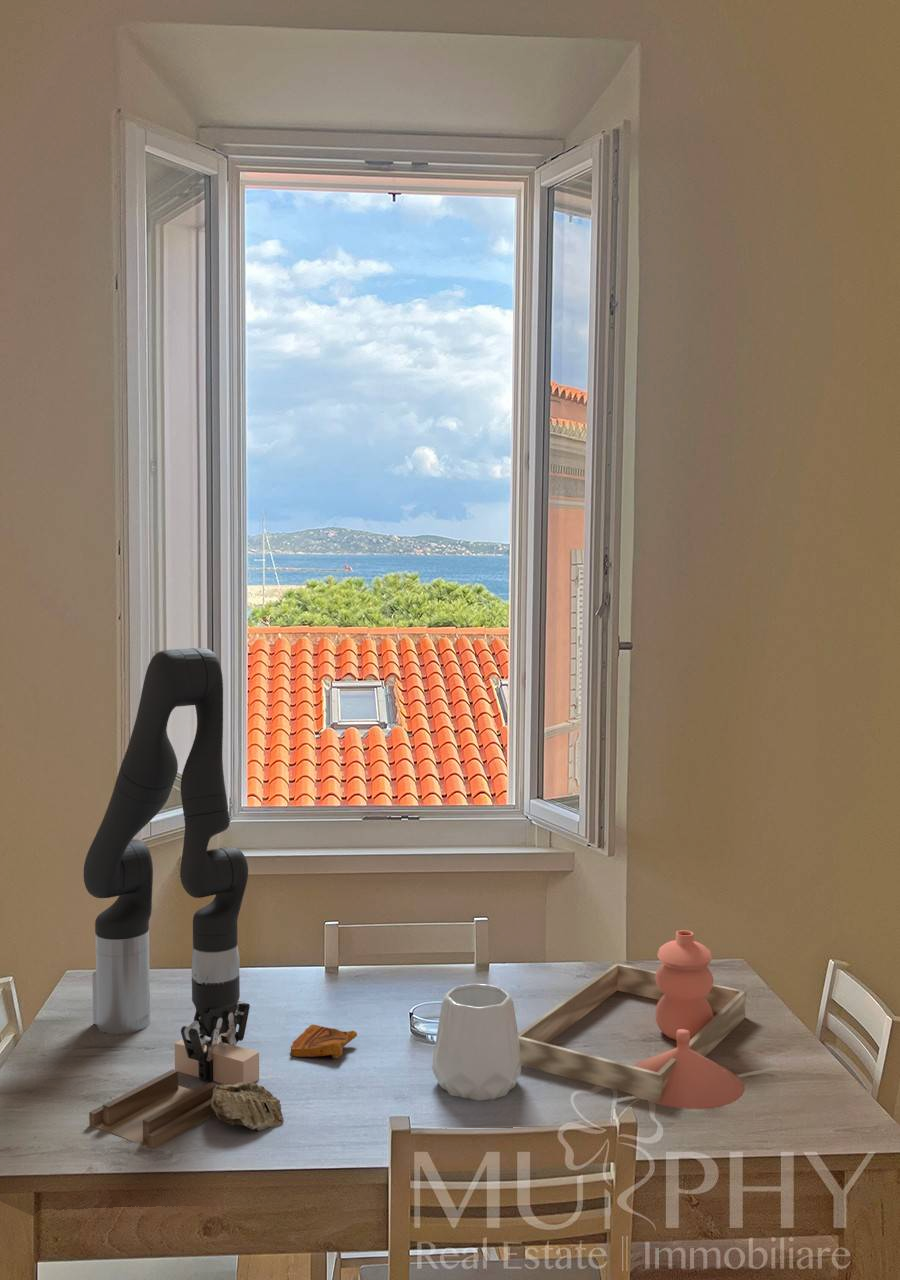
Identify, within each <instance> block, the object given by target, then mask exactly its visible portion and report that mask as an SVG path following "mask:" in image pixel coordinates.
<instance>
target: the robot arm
mask: <svg viewBox="0 0 900 1280" xmlns="http://www.w3.org/2000/svg"><path fill="white" fill-rule="evenodd" d="M222 672H223V671H222V668H221V663H220V661H219V658H218V657H217V655H216V653H215V652H214V651H212V650H211V649H209V648H205V647H196V648H195V647H193V648H192V647H191V648H179V649H178V648H177V649H165V650H161V651H158V652H157V653H155V654H154V655H153V656H152V658H151V659H150V661H149V663H148V666H147V668H146V672H145V676H144V680H143V685H142V689H141V695H140V699H139V705H138V708H137V713H136V718H135V721H134V725H133V729H132V732H131V734H130V739H129V742H128V746H127V747H126V751H125V754H124V756H123V759H122V762H121V763H120V764H121V765H120V767H119V771H118V774H117V776H116V780H115V784H114V787H113V791H112V794H111V797H110V799H109V802H108V806H107V807H106V811H105V813H104V816H103V818H102V821H101V823H100V826H99V828H98V830H97V831H96V834H95V836H94V838H93V840H92V841H91V844H90V846H89V849H88V851H87V854H86V857H85V861H84V864H83V865H84V866H83V883H84V886H85V889H86V891H87V892H88V893H89V894H90V895H91V896H92V897H94V898H96V899H110V898H115V897H117V898H116V900H115V901H114V902H113V903H112V904H111V905H110V906H109V907H108V908H106V909H105V910H103V911H102V912H101V913H99V914H98V915H97V916H96V919H95V922H94V930H95V931H94V933H95V939H94V940H95V971H94V972H93V973H92V977H91V978H92V981H91V982H92V1020H93V1021H92V1022H93V1023H92V1024H93V1025H94V1024H95V1026H96V1027H97V1030H98V1029H99V1030H100V1031H99V1030H98V1031H99V1032H101V1031H102V1033H104V1032H106V1033H105V1034H109V1033H114V1034H113V1035H125V1034H124V1033H126V1034H131V1032H132V1033H135V1032H136V1033H137V1032H139V1031H142V1030H144V1029H146V1028H148V1026H149V1025H151V1024H150V1023H151V984H150V983H151V981H150V980H151V979H150V978H151V975H150V971H151V970H150V919H151V916H152V910H153V907H152V906H153V902H152V901H153V885H154V883H153V882H154V879H153V878H154V867H153V858H152V854H151V851H150V849H149V847H148V846H147V844H146V843H145V842H144V841H142V840H141V839H137V838H136V839H134V838H135V836H136V835H138V833H139V832H140V831H141V830H143V829H144V828H145V827H146V826H147V825H148V824H149V823H150V822H151V821H152V820H153V819H154V818H155V817H156V816H157V815H158V814H159V813H160V811H161V810H163V808H164V806H165V805H166V804H167V802H168V800H169V797H170V794H171V793H172V790H173V786H174V784H175V781H176V778H177V774H178V770H179V767H178V766H179V765H178V764H179V763H178V759H177V756H176V752H175V749H174V748H173V745H172V743H171V741H170V739H169V735H168V733H167V732H168V731H167V729H168V723H169V719H170V716H171V714H172V712H173V710H174V709H175V708H177V707H186V706H187V707H188V706H189V707H190V706H195V714H196V730H195V735H194V740H193V743H192V745H191V749H190V751H189V754H188V756H187V757H186V758H187V759H186V761H185V764H184V767H183V770H182V773H181V780H180V797H181V802H182V803H181V806H182V813H183V820H184V837H183V847H182V855H181V860H180V870H179V876H180V883H181V885H182V887H183V889H184V890H185V892H186V893H187V894H188V895H189V896H190V897H192V898H195V899H201V898H205V897H210V896H214V895H215V897H214V899H213V900H212V901H211V902H210V903H208V904H207V905H205V906H203V907H201V908H199V909H197V910H196V911H195V913H194V914H193V918H192V955H191V1001H192V1003H193V1005H194V1007H195V1014H194V1016H193V1021H192V1023H191V1024H189V1025H188V1026H187V1025H186V1026H185V1025H183V1026H182V1027H181V1028H180V1035H181V1037H182V1038H181V1039H183V1041H184V1045H185V1048H186V1052H187V1055H188V1058H190V1059H194V1060H197V1061H199V1077H198V1078H199V1079H200V1081H203V1082H207V1083H208V1084H209V1083H211V1082H212V1083H213V1082H214V1081H213V1060H212V1056H213V1050H214V1047H215V1046H216V1045H217V1042H218V1039H219V1042H223V1043H226V1044H230V1045H234V1046H237V1043H238V1042H239V1041H240V1042H242V1041H243V1040H244V1038H245V1034H246V1028H247V1022H248V1018H249V1013H250V1007H251V1005H250V1003H247V1002H244V1001H240V996H241V995H240V993H241V992H240V991H241V990H240V988H241V987H240V979H241V978H240V952H239V946H238V945H239V944H238V942H239V941H238V921H239V914H240V911H241V907H242V902H243V898H244V894H245V892H246V891H245V890H246V888H247V884H248V879H249V865H248V862H247V859H246V858H247V857H246V856H245V854H244V853H243V852H242V850H240V849H239V848H237V847H235V846H227V847H225V846H224V847H220V848H215V849H210V850H208V846H209V844H210V843H209V842H210V840H211V838H213V837H214V836H216V835H217V834H221V833H223V832H224V831H227V829H228V828H229V827H230V823H231V822H230V813H229V805H228V798H227V797H228V796H227V792H226V791H227V789H226V785H225V776H224V775H225V774H224V762H223V759H224V756H223V754H224V753H223V748H224V746H223V744H224V743H223V741H224V739H223V737H224V680H223V673H222ZM237 1025H238V1026H237ZM237 1027H238V1029H237ZM143 1028H144V1029H143ZM141 1029H142V1030H141ZM206 1037H208V1039H207V1038H206ZM205 1045H206V1046H207V1049H206V1052H204V1047H205Z"/></svg>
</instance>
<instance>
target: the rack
mask: <svg viewBox="0 0 900 1280" xmlns="http://www.w3.org/2000/svg"><path fill="white" fill-rule="evenodd" d="M216 1085H218V1084H217V1083H216V1082H215V1083H214V1082H213V1081H212V1082H210V1083H209V1082H208V1083H207V1084H206V1085H203V1086H202V1087H200V1088H199V1089H198V1088H197V1090H192V1089H190V1088H188V1087H185V1086H181V1085H179V1072H178V1071H177V1070H175V1068H174V1069H173V1068H172V1069H170V1070H168V1071H167V1072H164V1073H162V1074H161V1075H159V1076H156V1077H154V1078H153V1079H151V1080H149V1081H146V1082H145V1083H143V1084H141V1085H138V1086H137V1087H135V1088H133V1089H132V1090H129V1091H127V1092H125V1093H124V1094H123V1093H122V1094H121V1095H120V1096H118V1097H115V1098H113V1099H112V1100H110V1101H108V1102H106V1103H104V1104H103V1105H100V1106H99V1107H97V1108H95V1109H93V1110H91V1111H89V1113H88V1114H89V1115H88V1116H89V1117H88V1118H89V1120H88V1121H89V1126H90V1127H93V1128H95V1129H98V1130H101V1131H103V1132H107V1133H109V1134H112V1135H115V1136H117V1137H120V1138H122V1139H125V1140H129V1141H131V1142H133V1143H137V1144H139V1145H142V1146H147V1147H148V1148H150V1149H155V1148H157V1147H158V1146H160V1145H162V1144H164V1143H166V1142H168V1141H170V1140H171V1139H173V1138H174V1137H177V1136H178V1135H180V1134H182V1133H184V1132H187V1130H189V1129H191V1128H193V1127H195V1126H197V1125H198V1124H200V1123H203V1122H204V1121H206V1120H209V1118H211V1117H213V1116H215V1115H216V1112H215V1111H214V1110H213V1108H212V1107H211V1103H212V1097H213V1089H214V1088H215V1086H216Z"/></svg>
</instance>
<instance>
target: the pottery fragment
mask: <svg viewBox="0 0 900 1280" xmlns="http://www.w3.org/2000/svg"><path fill="white" fill-rule="evenodd" d="M357 1036H358V1032H357V1031H356V1030H349V1031H342V1030H339V1029H337V1028H331V1027H327V1026H321V1025H317V1024H310V1025H309V1026H308V1027H307V1028H305V1030H304V1031H303V1032H302V1033H301V1034H300V1035H299V1036H298V1037H297V1038H296V1039H294V1041H293V1042H292V1045H291V1046H290V1053H291V1054H290V1055H291V1056H292V1057H300V1058H301V1057H303V1058H305V1057H307V1058H308V1057H309V1058H310V1057H323V1056H324V1057H325V1056H331V1057H332V1058H333V1059H338V1058H340V1057H341V1056H343V1051H344V1049H343V1048H345V1046H346V1045H348V1044H349V1043H350V1042H351V1041H352V1040H354V1039H355V1038H356V1037H357Z"/></svg>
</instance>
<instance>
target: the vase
mask: <svg viewBox="0 0 900 1280" xmlns="http://www.w3.org/2000/svg"><path fill="white" fill-rule="evenodd" d="M514 1005H515V1004H514V1001H513V998H512V996H511V995H510V994H509V993H508V992H507V991H506V990H505V989H503V988H501V987H500V986H499V987H498V986H495V985H493V984H485V983H467V984H461V985H458V986H454V987H453V988H451V989H450V990H448V991H447V992H446V994H445V995H444V997H443V999H442V1003H441V1007H440V1015H439V1018H438V1024H437V1025H438V1026H437V1032H436V1037H435V1038H436V1039H435V1045H434V1051H433V1058H432V1066H431V1068H432V1072H433V1075H434V1077H435V1079H436V1080H437V1082H438V1083H439V1087H440V1088H441V1089H443V1090H445V1091H447V1093H448V1095H449V1096H451V1097H453V1096H454V1097H460V1098H462V1099H471V1100H474V1101H486V1100H495V1099H497V1098H501V1097H506V1096H507V1095H508V1093H509V1092H510V1091H511V1090H512V1089H515V1086H517V1082H518V1079H519V1078H520V1075H521V1071H522V1066H521V1053H520V1045H519V1037H518V1033H519V1030H518V1023H517V1016H516V1010H515V1006H514Z"/></svg>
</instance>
